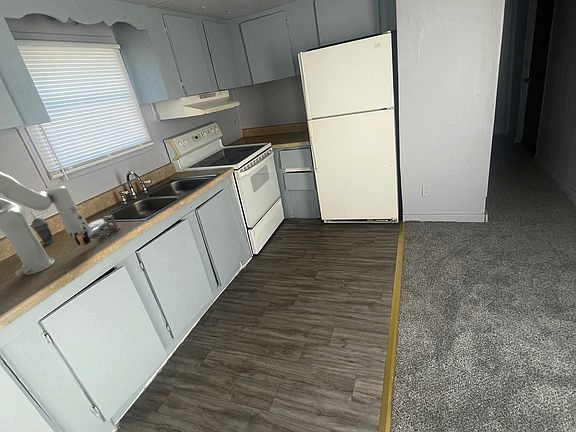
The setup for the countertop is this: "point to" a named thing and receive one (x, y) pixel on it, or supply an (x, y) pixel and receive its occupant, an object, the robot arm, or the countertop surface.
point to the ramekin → (96, 224)
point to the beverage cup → (42, 230)
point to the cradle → (102, 233)
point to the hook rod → (91, 232)
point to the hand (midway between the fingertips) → (84, 243)
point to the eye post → (113, 225)
